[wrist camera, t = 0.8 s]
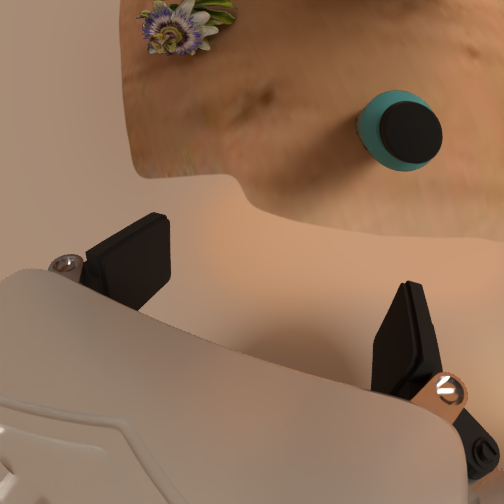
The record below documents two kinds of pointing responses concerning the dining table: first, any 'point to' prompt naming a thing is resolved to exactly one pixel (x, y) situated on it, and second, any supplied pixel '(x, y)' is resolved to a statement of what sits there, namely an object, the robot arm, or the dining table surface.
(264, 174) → the dining table surface
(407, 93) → the beverage bottle
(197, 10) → the passion flower
